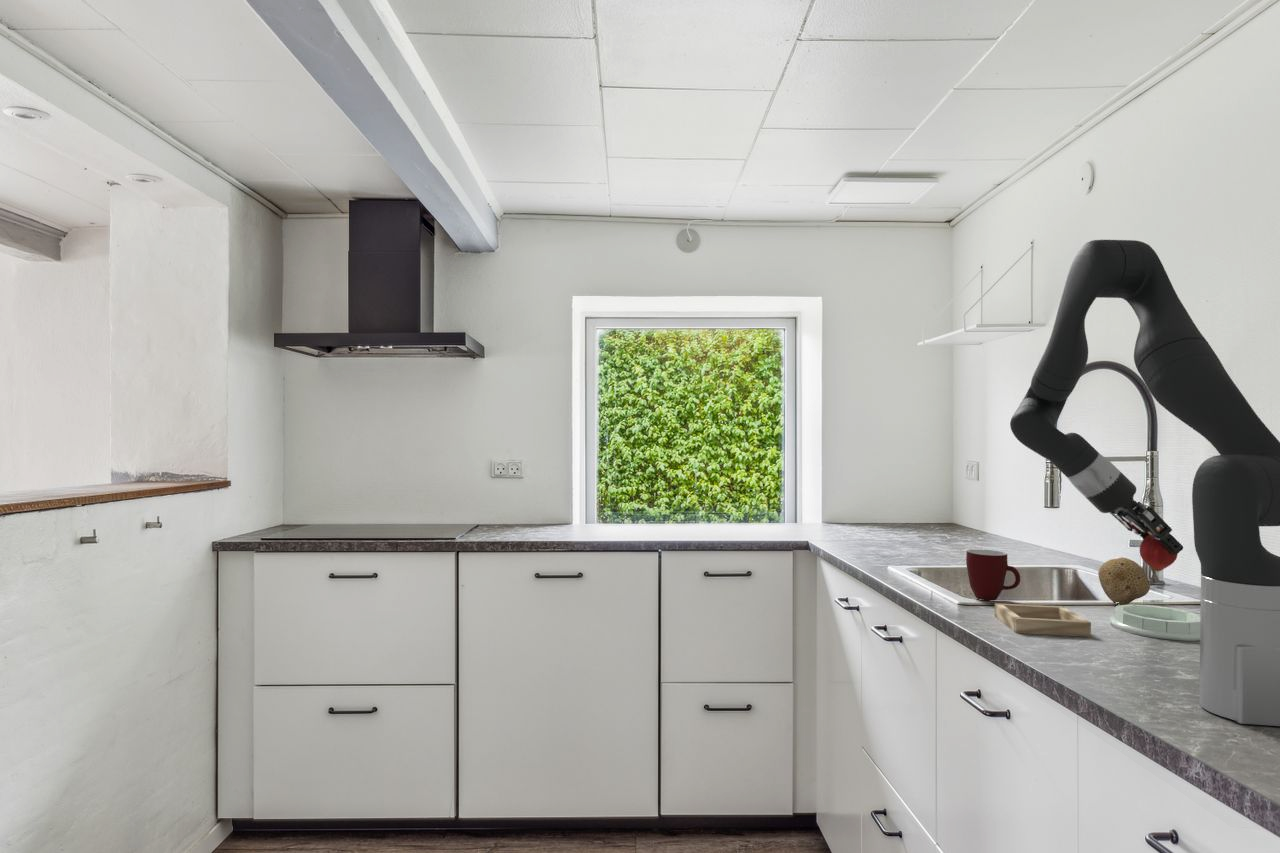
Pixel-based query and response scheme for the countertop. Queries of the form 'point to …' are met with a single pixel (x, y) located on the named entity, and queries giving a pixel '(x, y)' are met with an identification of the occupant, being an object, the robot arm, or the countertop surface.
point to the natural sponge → (1123, 580)
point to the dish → (1157, 622)
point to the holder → (1042, 620)
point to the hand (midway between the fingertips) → (1168, 548)
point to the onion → (1156, 553)
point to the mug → (989, 573)
